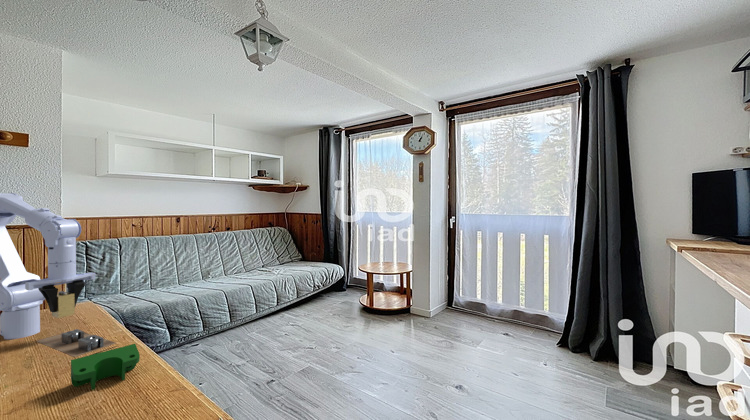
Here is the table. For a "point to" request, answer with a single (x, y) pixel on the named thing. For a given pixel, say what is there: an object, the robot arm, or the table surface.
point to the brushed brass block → (64, 305)
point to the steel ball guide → (82, 340)
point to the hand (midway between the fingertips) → (62, 309)
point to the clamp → (104, 365)
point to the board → (70, 345)
